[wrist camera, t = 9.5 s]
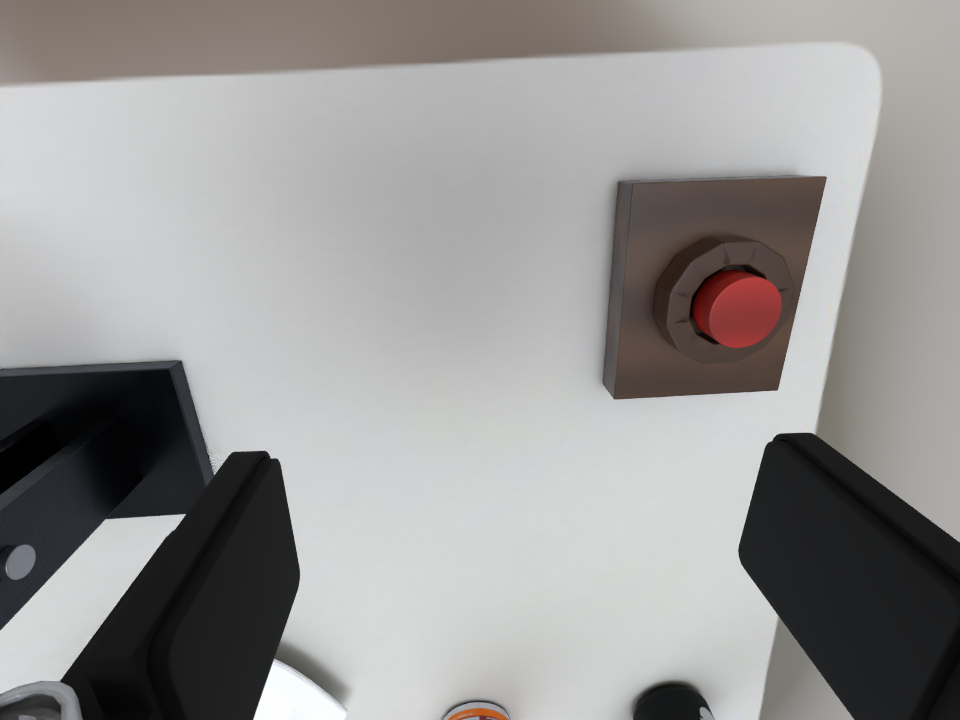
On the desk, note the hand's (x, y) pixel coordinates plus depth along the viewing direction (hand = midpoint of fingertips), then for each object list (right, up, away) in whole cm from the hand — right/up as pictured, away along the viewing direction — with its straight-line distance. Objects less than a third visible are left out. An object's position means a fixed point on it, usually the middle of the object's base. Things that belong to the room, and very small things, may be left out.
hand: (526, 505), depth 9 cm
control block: (+12, +7, +19) cm, 24 cm away
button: (+12, +6, +16) cm, 21 cm away
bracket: (-24, -2, +20) cm, 32 cm away
